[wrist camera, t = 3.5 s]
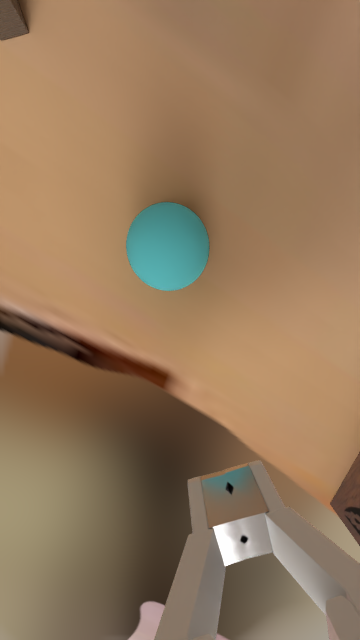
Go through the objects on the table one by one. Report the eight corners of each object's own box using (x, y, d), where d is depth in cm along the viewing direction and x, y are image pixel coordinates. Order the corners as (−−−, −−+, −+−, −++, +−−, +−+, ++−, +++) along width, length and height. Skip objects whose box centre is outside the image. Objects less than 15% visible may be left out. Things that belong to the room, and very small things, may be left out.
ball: (192, 209, 16) (206, 171, 10) (208, 278, 18) (227, 280, 12) (125, 227, 16) (100, 200, 10) (145, 295, 18) (134, 305, 12)
